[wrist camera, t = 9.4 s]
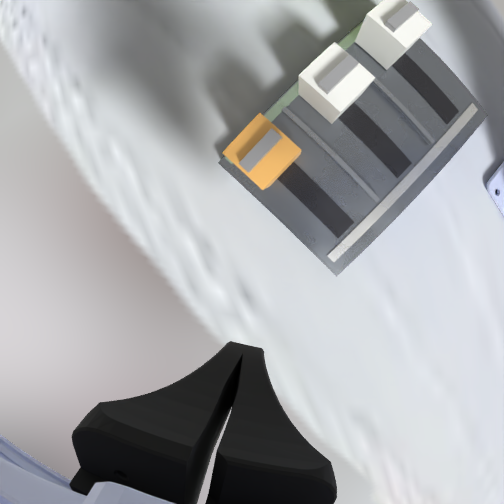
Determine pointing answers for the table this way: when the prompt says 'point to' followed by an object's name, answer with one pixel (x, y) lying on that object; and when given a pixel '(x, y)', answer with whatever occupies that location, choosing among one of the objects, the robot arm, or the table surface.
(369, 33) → the white breaker
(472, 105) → the panel
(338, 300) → the table surface
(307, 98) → the white breaker
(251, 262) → the table surface
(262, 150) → the breaker orange
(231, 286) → the table surface
